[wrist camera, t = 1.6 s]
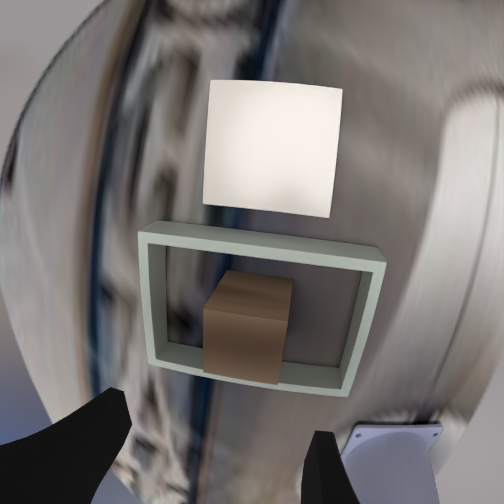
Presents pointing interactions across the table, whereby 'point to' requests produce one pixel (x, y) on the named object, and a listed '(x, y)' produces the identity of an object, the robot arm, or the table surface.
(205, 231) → the green rectangular frame
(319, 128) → the tile
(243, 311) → the walnut block
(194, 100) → the table surface
